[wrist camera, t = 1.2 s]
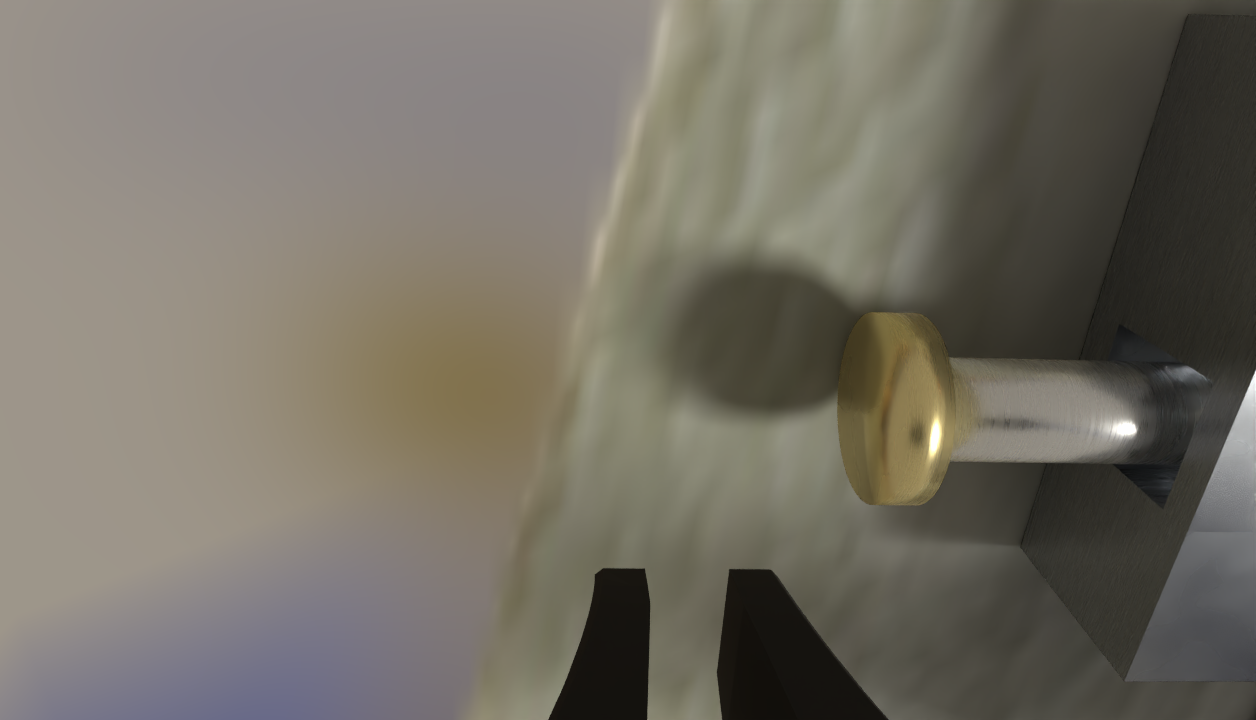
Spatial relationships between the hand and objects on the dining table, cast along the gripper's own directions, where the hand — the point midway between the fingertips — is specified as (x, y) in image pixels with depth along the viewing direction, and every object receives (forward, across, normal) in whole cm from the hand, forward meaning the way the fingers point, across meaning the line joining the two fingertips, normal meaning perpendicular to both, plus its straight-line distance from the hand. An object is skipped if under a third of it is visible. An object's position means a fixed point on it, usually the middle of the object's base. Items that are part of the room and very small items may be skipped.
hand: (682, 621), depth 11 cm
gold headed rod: (+9, -10, 0) cm, 13 cm away
